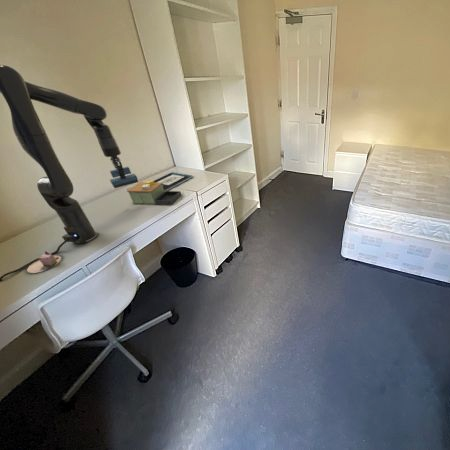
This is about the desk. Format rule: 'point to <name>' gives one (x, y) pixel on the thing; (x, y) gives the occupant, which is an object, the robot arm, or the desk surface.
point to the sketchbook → (172, 180)
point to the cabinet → (145, 193)
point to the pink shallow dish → (44, 263)
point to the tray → (168, 198)
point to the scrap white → (146, 187)
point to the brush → (123, 181)
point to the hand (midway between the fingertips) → (122, 176)
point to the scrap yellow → (149, 182)
